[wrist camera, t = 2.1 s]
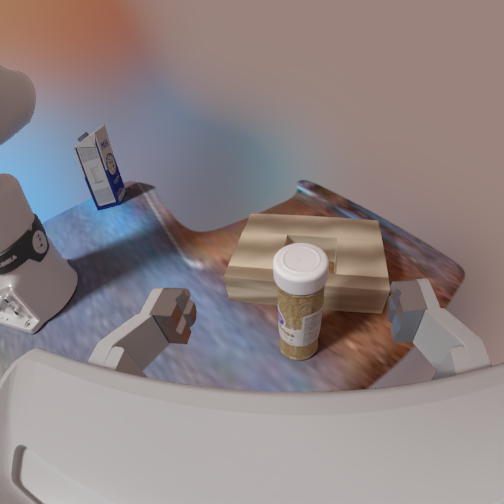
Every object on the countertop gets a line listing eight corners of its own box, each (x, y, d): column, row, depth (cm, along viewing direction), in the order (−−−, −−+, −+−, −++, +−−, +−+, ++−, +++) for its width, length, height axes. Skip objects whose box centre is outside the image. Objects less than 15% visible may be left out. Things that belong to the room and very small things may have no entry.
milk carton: (119, 205, 64) (94, 131, 51) (97, 210, 63) (70, 140, 51) (126, 191, 69) (104, 123, 56) (105, 197, 69) (82, 131, 56)
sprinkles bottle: (271, 341, 32) (261, 255, 23) (302, 322, 33) (305, 233, 24) (294, 369, 28) (295, 288, 20) (326, 348, 30) (341, 261, 21)
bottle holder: (381, 313, 32) (390, 290, 29) (229, 300, 37) (223, 276, 34) (373, 243, 42) (378, 220, 39) (253, 235, 47) (250, 213, 44)
